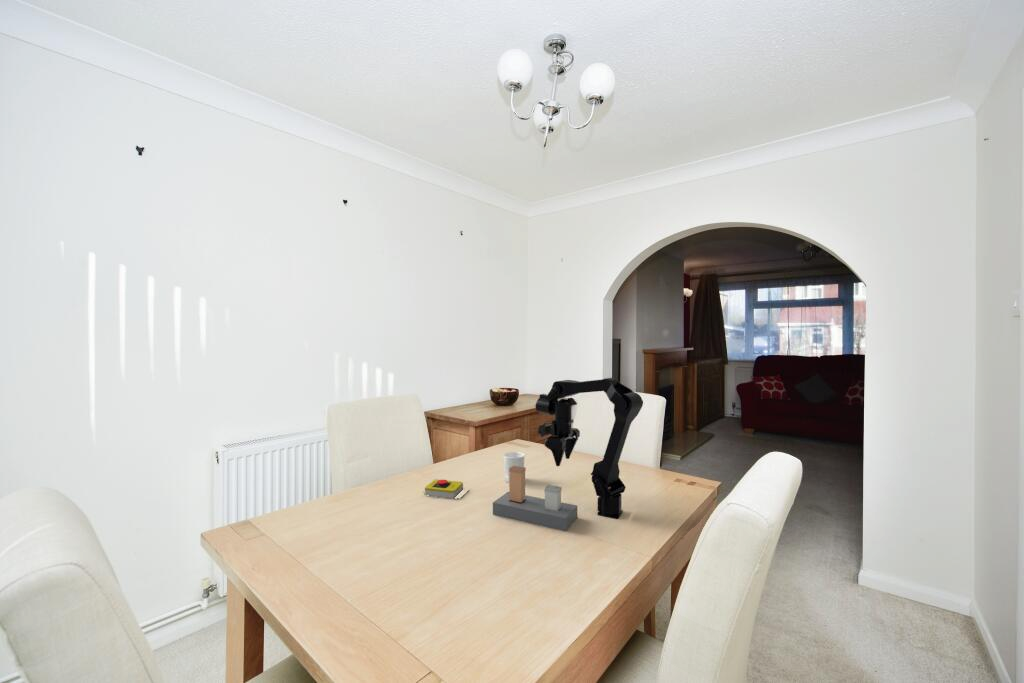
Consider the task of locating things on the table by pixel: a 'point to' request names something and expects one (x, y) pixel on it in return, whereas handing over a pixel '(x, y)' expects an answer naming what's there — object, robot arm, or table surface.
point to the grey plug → (553, 497)
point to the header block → (535, 512)
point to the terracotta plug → (517, 483)
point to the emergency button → (443, 488)
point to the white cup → (512, 462)
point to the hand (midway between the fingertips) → (562, 462)
